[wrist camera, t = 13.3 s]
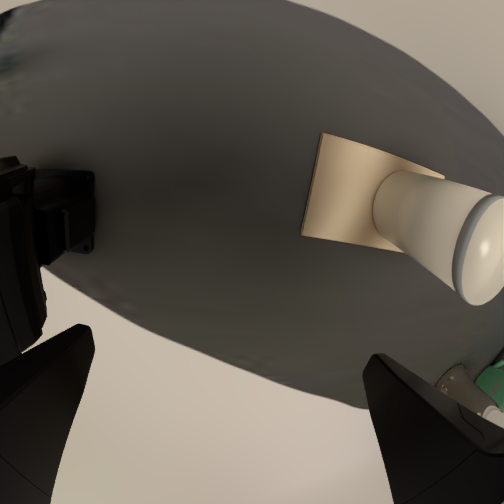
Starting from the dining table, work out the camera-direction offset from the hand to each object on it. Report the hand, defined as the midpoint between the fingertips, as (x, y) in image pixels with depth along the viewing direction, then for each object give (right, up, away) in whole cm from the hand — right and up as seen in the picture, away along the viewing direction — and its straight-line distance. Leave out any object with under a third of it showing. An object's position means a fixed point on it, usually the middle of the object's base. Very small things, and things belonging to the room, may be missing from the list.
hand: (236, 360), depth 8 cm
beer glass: (+31, -17, +23) cm, 42 cm away
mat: (+11, +7, +12) cm, 18 cm away
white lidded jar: (+12, +7, +12) cm, 18 cm away
